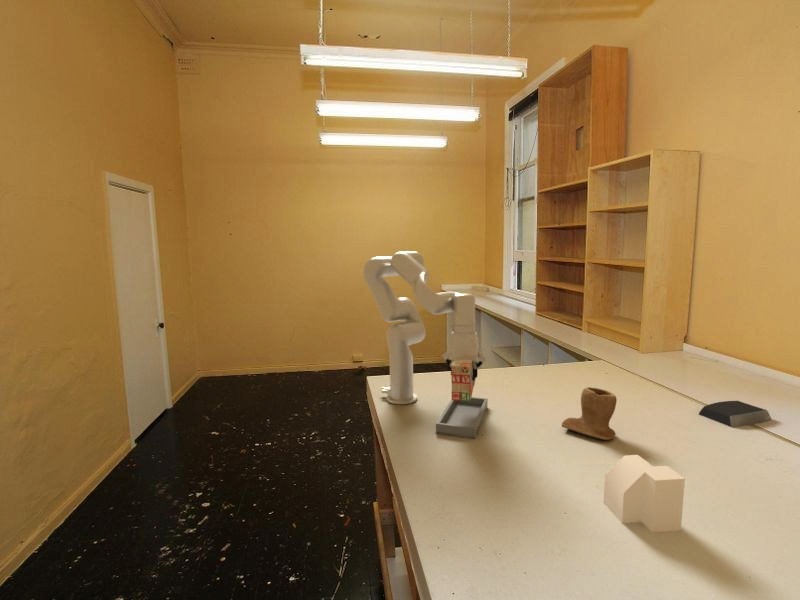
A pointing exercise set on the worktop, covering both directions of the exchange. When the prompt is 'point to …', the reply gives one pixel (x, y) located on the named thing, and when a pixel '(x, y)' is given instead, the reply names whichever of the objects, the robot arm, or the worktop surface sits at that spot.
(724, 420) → the external hard drive
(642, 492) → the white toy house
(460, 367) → the stack of blocks
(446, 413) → the tray
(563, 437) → the worktop surface
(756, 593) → the worktop surface
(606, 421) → the brown suede boot
